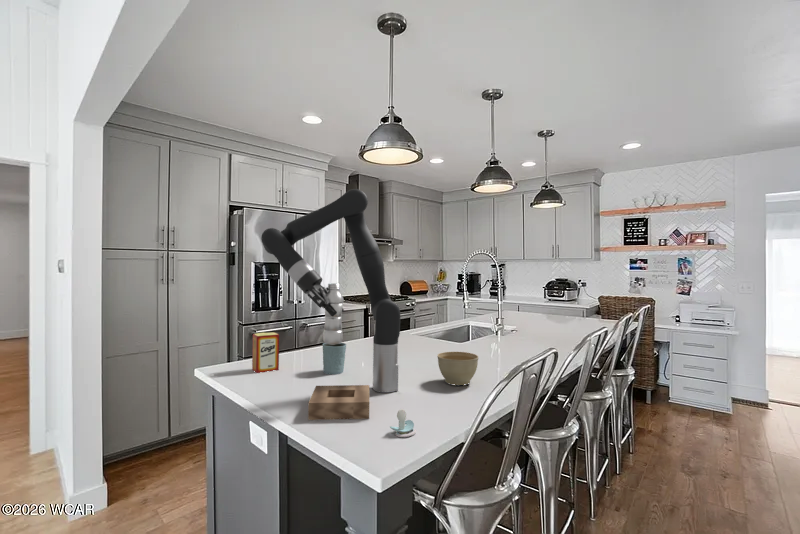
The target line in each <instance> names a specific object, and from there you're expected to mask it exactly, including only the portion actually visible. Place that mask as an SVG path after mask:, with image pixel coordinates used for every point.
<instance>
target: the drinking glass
mask: <svg viewBox="0 0 800 534" xmlns="http://www.w3.org/2000/svg"><path fill="white" fill-rule="evenodd" d="M346 349H347V344H346V343H345V342H341V343H340V344H335V345H330V344H325V343H322V360H323V361H322V365H323V368H322V371H323V373H324V374H325V373H326V374H325V375H332V374H333V375H340V374H342V373H344V369H345V359H346Z"/></svg>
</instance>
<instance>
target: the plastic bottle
mask: <svg viewBox="0 0 800 534" xmlns="http://www.w3.org/2000/svg"><path fill="white" fill-rule="evenodd" d="M327 285H328V286H327V287H328V289H329V291H328V293H327V294H326V296H327V301H328V302H329V304H331V305H332V306H333V308H334V309H335V310H336V311H337V313H336V314H335V315H334V316H331V315H330V314H329V313H328V312H327V311H326V310H325V309H324V316H325V317H324V330H323V333H322V339H323V340H322V341H323V342H324V343H325V344H330V345H335V344H340V343H343V338H344V335H343V333H344V332H343V326H342V319H343V317H342V316H343V315H342V314H343V312H342V308H343V307H344V302H345V301H344V300H345V299H344V296H343V295H342V293H341V292H340V289H341V287H340V283H328V284H327ZM343 309H344V308H343ZM324 343H323V344H324Z"/></svg>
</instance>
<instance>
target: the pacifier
mask: <svg viewBox="0 0 800 534" xmlns="http://www.w3.org/2000/svg"><path fill="white" fill-rule="evenodd" d="M396 418H397V420H398V426H389V428H390V429H392V430H393V431H395V432H396V433H395V436H397V437H398V438H408V437H413V435H415V434H416V433H417V430H416V429H415V428H414V427H415V423H414V421H413V420H410V419H407V413H406V410H404V408H403V409H401V408H400V409H399V410H398V411H397V413H396ZM406 419H407V420H406ZM407 432H408V433H407Z"/></svg>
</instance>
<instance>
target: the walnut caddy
mask: <svg viewBox="0 0 800 534" xmlns="http://www.w3.org/2000/svg"><path fill="white" fill-rule="evenodd" d="M307 405H308V411H307V414H308V415H307V420H308V421H319V420H320V421H321V420H326V421H328V420H329V421H330V420H331V421H332V420H370V385H369V384H365V385H364V384H362V385H361V384H359V385H358V384H355V385H353V384H352V385H350V384H349V385H345V384H343V385H341V384H340V385H336V384H335V385H315V388H314V389H313V391H312V395H310V399H309V401H308V404H307Z"/></svg>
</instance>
